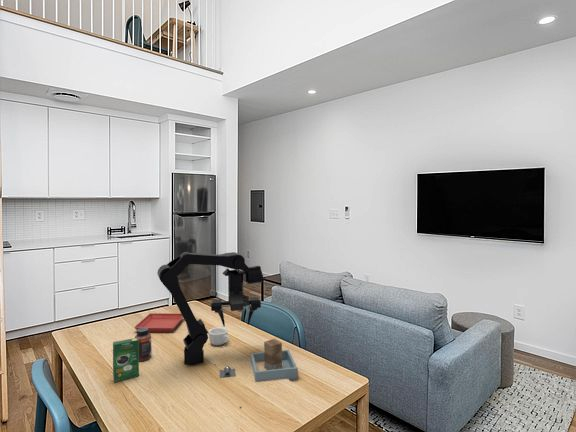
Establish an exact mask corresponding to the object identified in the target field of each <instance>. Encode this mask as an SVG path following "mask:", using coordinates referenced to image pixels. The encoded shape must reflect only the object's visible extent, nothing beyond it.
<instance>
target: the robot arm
mask: <svg viewBox="0 0 576 432" xmlns="http://www.w3.org/2000/svg"><path fill="white" fill-rule="evenodd" d="M245 260H246V259H245V257H244V256H243V255H241V254H239V253H237V252H232V251H231V252H225V253H221V254H220V253H219V254H218V253H217V254H216V253H214V254H213V253H198V252H197V253H196V252H188V251H184V252H182V253H181V254H179V255H178V256H177V257H176V258H174V259H172V260H171V261H169V262H168V263H167V264H163V265H161V266H159V267H158V270H157V272H156V273H157V276H158V279H159V280H160V282H161V283H162V284H163V286H164V287H165V288H166V290H167V291H168V292H169V293H170V294H171V297H172V298H173V300H174V302H175V304H176V306H177V308H178V310H179V312H180V314H182V316H183V320H184V322H185V324H186V325H185V326H186V330H187V335H186V336H185V337H184V338H183V339H182V341H183V344H184V349H183V356H184V357H183V358H184V359H183V360H184V365H187V366H190V367H191V366H197V365H199V364H200V365H201V364H203V363H204V361H205V357H204V356H205V352H204V351H205V350H204V345H205V344H206V343H207V341H208V339H209V330H208V329H207V327H206V326H205V323H204V322H203V320H202V319H201V318H199V319H198V320H197V318H196V316H195V314H194V313H193V311H192V309H191V307H190V304H189V303H188V301H187V299H186V297H185V295H184V293H183V291H182V289H181V285H180V282H179V278H178V276H179V275H180V274H181V273H183V271H184V270H185V269H186V268H187V267H188V266H189V265H198V266H199V265H202V266H203V265H204V266H219V267H224V268H226V269H225V270H224V271H223V272H222V275H223V276H225V277H227V280H228V281H227V283H228V284H227V285H228V286H227V289H228V290H227V295H228V297H227V299H228V301H222V298H220V299H219V298H217V299H214V298H213V299H211V301H210V311H212V312H214V313H216V314H218V316H219V318H220V321H221V323H222V326H223V328H225V327H226V323H225V322H226V321H225V317H224V309H223V308H224V307H225V308H226V307H228V308H229V307H230V311H231V312H235V311H240V312H241V311H243V310H244V308H245V307H248V308H247V309H248V310H247V319H246V320H247V325H250V322H251V318H252V317H253V314H254V313H255V311H257V310H258V309H260V308H262V301H261V299H260V297H259V296H253V297H252V296H250V297H249V295H244V283H245V284H246V285H253V284H262V283H263V281H264V275H263V271H262V269H261V267H262V266H260V265H254V266H248V265H247V264H246V261H245Z"/></svg>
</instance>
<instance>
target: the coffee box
mask: <svg viewBox="0 0 576 432" xmlns="http://www.w3.org/2000/svg"><path fill="white" fill-rule="evenodd" d="M138 376H140V361H139V340H138V339H137V338H135V337H133V338H128V339H127V338H126V339H122V340H117V341H113V342H112V377H113V382H114V383H116V382H121V381H123V380H128V379H131V378H135V377H138Z"/></svg>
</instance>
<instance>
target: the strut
mask: <svg viewBox="0 0 576 432" xmlns="http://www.w3.org/2000/svg"><path fill="white" fill-rule="evenodd" d="M263 342H264V344H263V348H264V349H263V352H264V361H263V362H264V365H263V367H264V369H265V370H273V369H283V363H282V350H283V343H282V341H280V340H278V339H276V338H272V339H268V340H265V341H263Z"/></svg>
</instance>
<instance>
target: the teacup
mask: <svg viewBox="0 0 576 432" xmlns="http://www.w3.org/2000/svg"><path fill="white" fill-rule="evenodd" d="M208 332H209V333H208V339H209V342H210V344H212V345H213V346H222V345H224V344H225V343H228V342H229V340H230V338H229V336H228V332H229V331H228V329H227V328H225V327H219V326H218V327H213V328H211V329H209V330H208Z"/></svg>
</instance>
